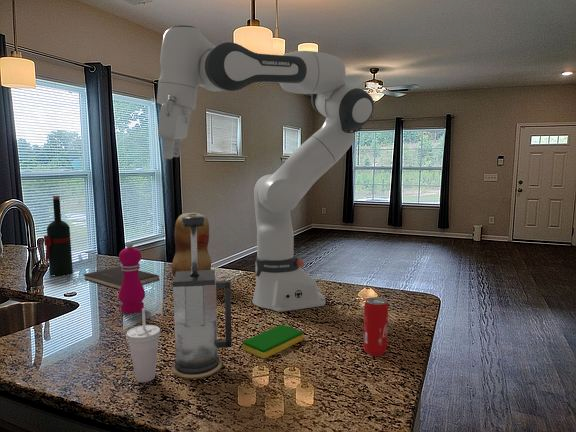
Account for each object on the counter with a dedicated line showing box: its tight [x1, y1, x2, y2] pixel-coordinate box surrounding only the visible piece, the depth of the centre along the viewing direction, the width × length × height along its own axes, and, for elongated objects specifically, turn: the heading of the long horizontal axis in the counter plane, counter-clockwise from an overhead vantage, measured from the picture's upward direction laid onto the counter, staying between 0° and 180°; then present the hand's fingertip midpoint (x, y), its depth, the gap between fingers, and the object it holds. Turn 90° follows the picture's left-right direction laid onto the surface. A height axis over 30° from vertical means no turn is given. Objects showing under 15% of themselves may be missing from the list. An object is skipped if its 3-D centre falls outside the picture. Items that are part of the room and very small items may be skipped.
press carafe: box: [171, 269, 233, 380], centre depth 87 cm, size 12×10×20 cm
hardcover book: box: [83, 265, 160, 290], centre depth 153 cm, size 16×23×2 cm
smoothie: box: [125, 307, 162, 383], centre depth 82 cm, size 6×6×14 cm
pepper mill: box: [118, 241, 146, 315], centre depth 120 cm, size 7×7×20 cm
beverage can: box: [363, 296, 389, 357], centre depth 94 cm, size 5×5×12 cm
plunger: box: [182, 216, 205, 277], centre depth 85 cm, size 6×6×14 cm
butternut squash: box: [171, 212, 212, 278], centre depth 147 cm, size 14×13×25 cm
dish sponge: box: [242, 324, 304, 359], centre depth 99 cm, size 7×14×2 cm, turn 138°
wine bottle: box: [43, 195, 74, 277], centre depth 158 cm, size 8×10×30 cm
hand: (171, 157), depth 100 cm, fingers open, 8 cm apart
